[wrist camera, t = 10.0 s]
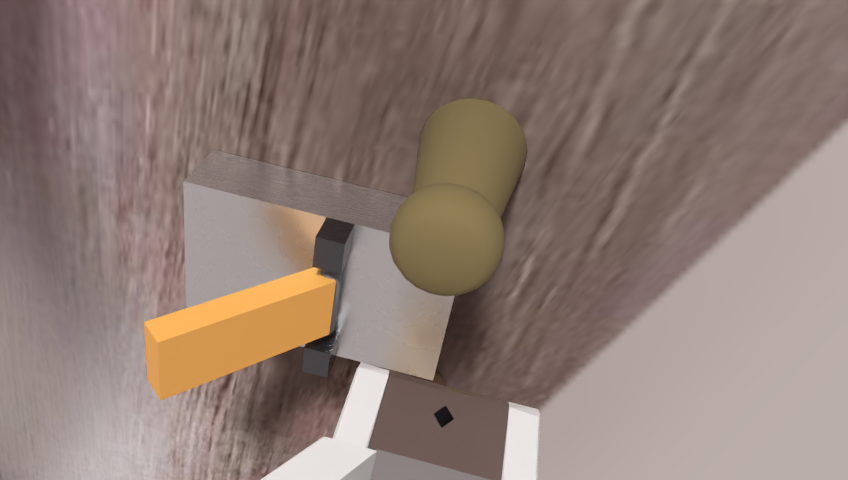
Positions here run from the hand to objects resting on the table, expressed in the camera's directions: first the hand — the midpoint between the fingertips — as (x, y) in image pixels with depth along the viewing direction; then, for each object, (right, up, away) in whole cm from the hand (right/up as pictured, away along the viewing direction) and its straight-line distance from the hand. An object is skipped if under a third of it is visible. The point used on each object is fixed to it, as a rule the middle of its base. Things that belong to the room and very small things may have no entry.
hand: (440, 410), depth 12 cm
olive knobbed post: (+2, +8, +28) cm, 30 cm away
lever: (-6, -1, +30) cm, 30 cm away
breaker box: (-6, +2, +34) cm, 34 cm away
